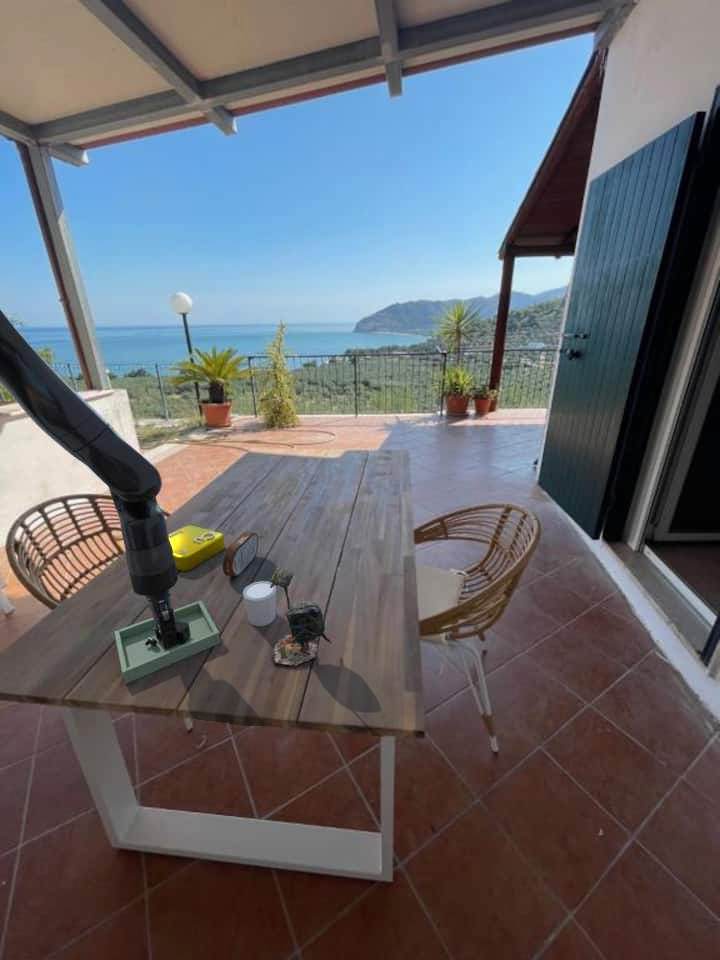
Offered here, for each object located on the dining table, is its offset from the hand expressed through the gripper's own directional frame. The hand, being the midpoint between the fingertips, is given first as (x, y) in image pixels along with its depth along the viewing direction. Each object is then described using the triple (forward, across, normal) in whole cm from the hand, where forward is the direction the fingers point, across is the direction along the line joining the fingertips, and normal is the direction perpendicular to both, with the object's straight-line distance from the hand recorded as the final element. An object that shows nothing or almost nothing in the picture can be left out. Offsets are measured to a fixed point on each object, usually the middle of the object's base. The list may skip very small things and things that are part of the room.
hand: (167, 637), depth 77 cm
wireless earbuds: (+1, 0, 0) cm, 1 cm away
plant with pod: (+2, +18, +20) cm, 27 cm away
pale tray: (+1, 0, 0) cm, 1 cm away
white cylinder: (+2, +4, +18) cm, 19 cm away
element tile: (+2, -34, +12) cm, 36 cm away
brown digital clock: (+2, -18, +22) cm, 29 cm away
